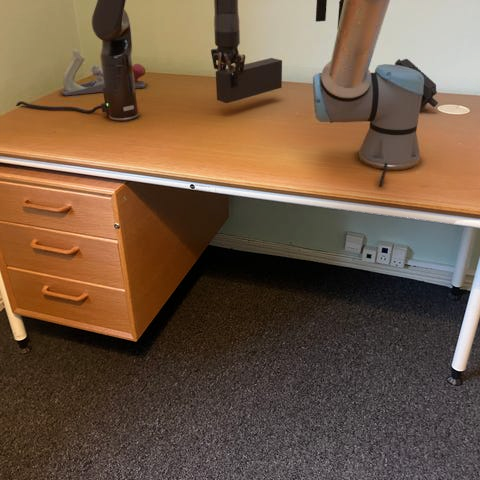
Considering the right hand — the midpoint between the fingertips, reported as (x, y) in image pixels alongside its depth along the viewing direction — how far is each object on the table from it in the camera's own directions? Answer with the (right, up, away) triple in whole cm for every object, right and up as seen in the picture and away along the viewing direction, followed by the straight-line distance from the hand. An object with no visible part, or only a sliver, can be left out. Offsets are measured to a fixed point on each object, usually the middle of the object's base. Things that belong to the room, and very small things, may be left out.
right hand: (331, 25), depth 144 cm
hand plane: (-75, -2, +54) cm, 92 cm away
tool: (+29, -15, +30) cm, 45 cm away
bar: (-21, -10, +31) cm, 39 cm away
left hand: (-28, -10, +23) cm, 38 cm away
